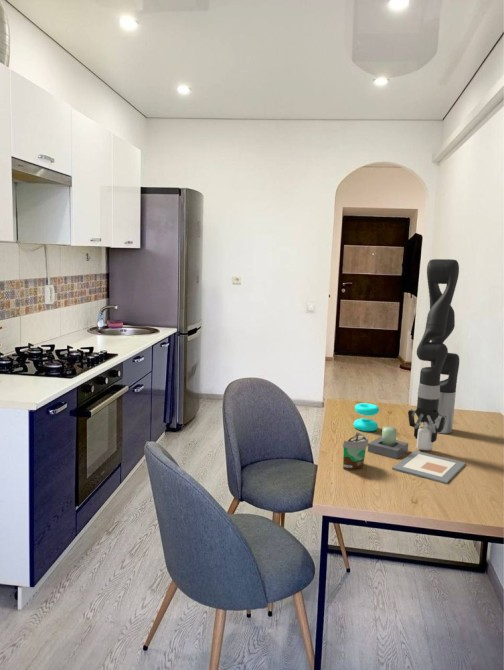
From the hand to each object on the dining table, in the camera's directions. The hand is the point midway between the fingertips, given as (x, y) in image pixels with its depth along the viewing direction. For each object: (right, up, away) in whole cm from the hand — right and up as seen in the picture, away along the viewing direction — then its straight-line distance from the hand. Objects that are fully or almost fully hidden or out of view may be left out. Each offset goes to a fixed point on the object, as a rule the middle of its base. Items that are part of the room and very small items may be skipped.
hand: (424, 439), depth 196 cm
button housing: (-14, -4, -2) cm, 15 cm away
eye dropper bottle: (0, -4, 0) cm, 4 cm away
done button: (-14, -1, -2) cm, 14 cm away
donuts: (-17, 0, +25) cm, 30 cm away
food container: (-29, -6, -18) cm, 35 cm away
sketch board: (-4, -6, -16) cm, 17 cm away
